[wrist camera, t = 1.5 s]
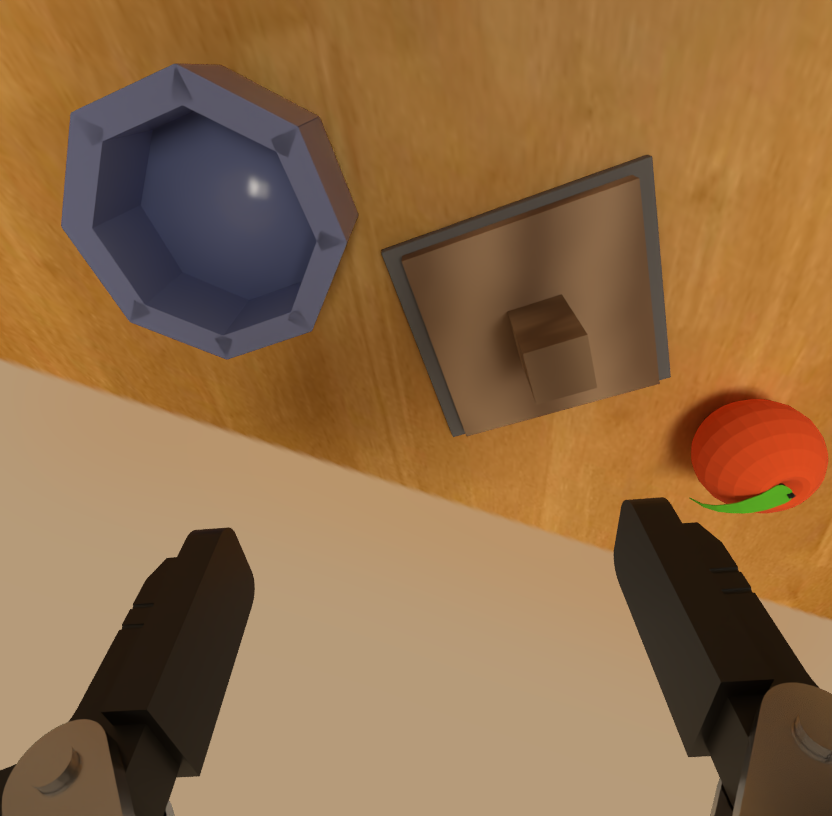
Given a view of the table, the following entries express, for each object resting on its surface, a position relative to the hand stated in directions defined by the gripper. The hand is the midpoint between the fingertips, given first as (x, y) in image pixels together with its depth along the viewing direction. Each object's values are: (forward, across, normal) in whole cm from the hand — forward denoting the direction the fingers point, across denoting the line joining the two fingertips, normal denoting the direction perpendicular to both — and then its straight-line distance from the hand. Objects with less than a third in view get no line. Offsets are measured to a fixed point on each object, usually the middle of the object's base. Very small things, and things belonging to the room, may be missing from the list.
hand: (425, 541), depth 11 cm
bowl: (+20, +9, -3) cm, 22 cm away
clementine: (+20, -19, +14) cm, 31 cm away
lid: (+20, -6, +4) cm, 21 cm away
